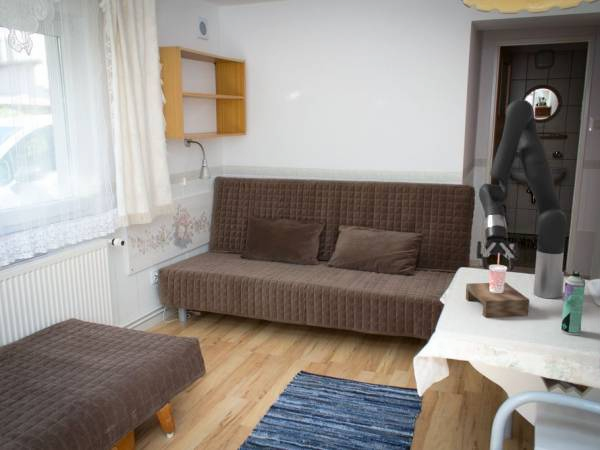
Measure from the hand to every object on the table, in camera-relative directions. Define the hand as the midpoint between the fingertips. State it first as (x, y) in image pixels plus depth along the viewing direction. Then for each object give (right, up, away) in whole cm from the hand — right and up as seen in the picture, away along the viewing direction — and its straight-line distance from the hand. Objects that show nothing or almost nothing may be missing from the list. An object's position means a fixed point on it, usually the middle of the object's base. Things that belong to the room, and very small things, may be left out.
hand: (498, 268), depth 194 cm
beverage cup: (0, -8, +3) cm, 9 cm away
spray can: (+16, -19, -18) cm, 31 cm away
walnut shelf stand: (0, -14, +4) cm, 15 cm away
